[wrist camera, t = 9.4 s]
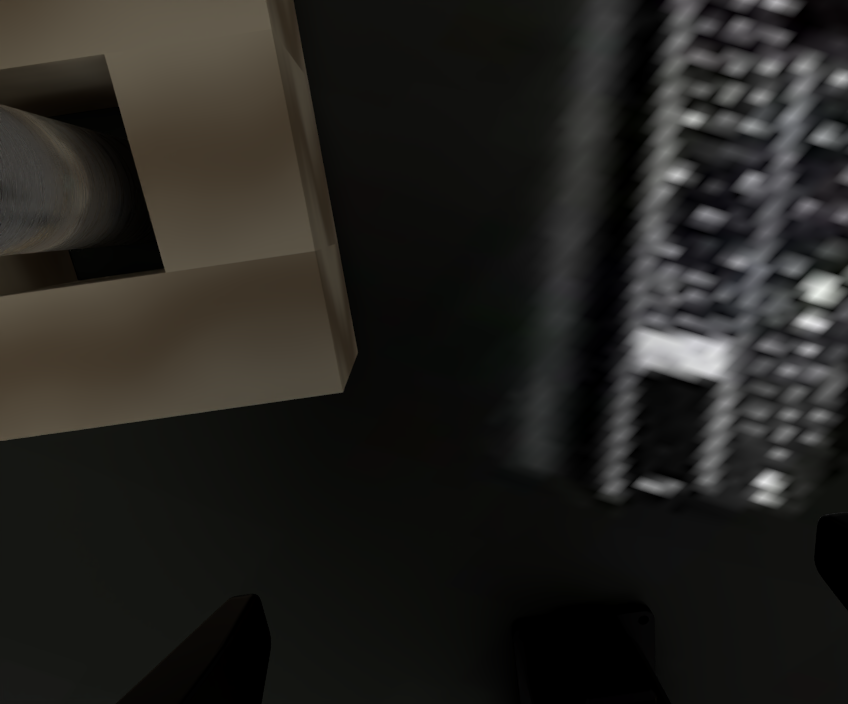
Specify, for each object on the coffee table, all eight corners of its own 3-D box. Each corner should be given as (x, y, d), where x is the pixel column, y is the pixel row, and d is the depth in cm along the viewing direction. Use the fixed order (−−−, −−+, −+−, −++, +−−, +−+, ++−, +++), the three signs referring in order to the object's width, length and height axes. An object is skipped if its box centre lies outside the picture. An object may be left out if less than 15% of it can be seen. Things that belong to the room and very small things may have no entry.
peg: (190, 236, 18) (21, 249, 10) (96, 250, 18) (-145, 273, 10) (163, 133, 17) (-45, 60, 9) (64, 148, 17) (-227, 88, 9)
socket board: (357, 352, 19) (342, 392, 15) (7, 402, 19) (-109, 456, 15) (280, -70, 15) (229, -184, 11) (-154, -5, 15) (-373, -91, 11)
